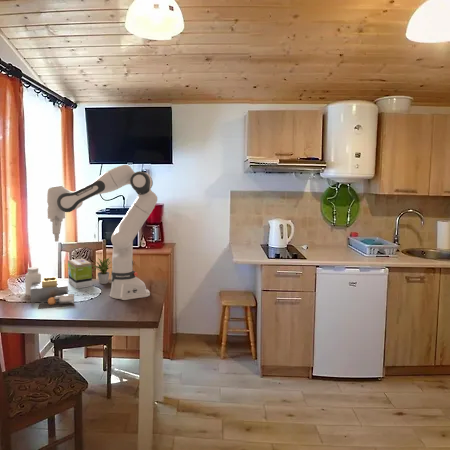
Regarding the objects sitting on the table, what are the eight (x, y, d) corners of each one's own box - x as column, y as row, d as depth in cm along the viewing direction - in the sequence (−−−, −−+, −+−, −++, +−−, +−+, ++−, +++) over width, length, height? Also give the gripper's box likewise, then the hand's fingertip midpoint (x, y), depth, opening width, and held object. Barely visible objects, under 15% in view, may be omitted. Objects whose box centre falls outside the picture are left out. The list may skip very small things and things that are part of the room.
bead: (56, 303, 211) (56, 295, 210) (56, 305, 207) (55, 298, 206) (48, 304, 209) (47, 296, 209) (47, 306, 206) (47, 299, 205)
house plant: (98, 278, 262) (98, 253, 259) (118, 279, 259) (118, 255, 257) (87, 284, 248) (87, 258, 245) (108, 286, 245) (108, 259, 243)
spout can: (73, 301, 213) (73, 292, 213) (74, 304, 209) (73, 295, 208) (54, 303, 210) (54, 294, 209) (54, 306, 205) (54, 297, 205)
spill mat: (73, 301, 216) (73, 300, 216) (74, 306, 207) (74, 305, 207) (39, 304, 210) (39, 303, 209) (37, 309, 201) (37, 309, 201)
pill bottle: (42, 295, 225) (41, 268, 223) (26, 297, 220) (25, 270, 218) (40, 291, 231) (39, 265, 229) (24, 293, 227) (23, 267, 225)
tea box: (67, 283, 249) (67, 259, 247) (84, 280, 256) (83, 257, 254) (76, 289, 238) (75, 264, 236) (92, 286, 244) (92, 262, 242)
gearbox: (67, 294, 227) (67, 275, 226) (67, 300, 216) (67, 280, 215) (32, 296, 221) (32, 277, 220) (30, 303, 210) (30, 283, 208)
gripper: (62, 217, 213) (62, 243, 215) (62, 213, 232) (63, 236, 234) (49, 217, 211) (50, 243, 213) (50, 213, 230) (51, 237, 231)
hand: (57, 239), depth 223 cm, fingers open, 8 cm apart
